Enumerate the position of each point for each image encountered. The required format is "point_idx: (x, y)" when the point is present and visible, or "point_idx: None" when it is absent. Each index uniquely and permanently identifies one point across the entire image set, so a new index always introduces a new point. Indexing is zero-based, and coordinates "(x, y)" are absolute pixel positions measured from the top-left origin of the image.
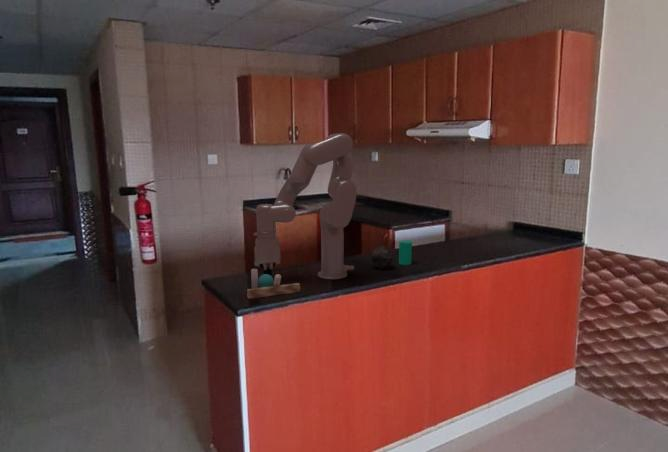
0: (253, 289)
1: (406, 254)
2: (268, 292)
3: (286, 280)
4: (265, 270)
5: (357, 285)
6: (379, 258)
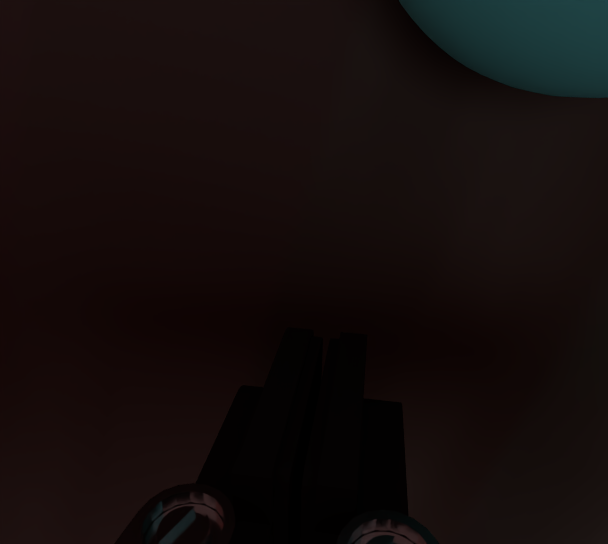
0: None
1: None
2: None
3: (32, 300)
4: (377, 526)
5: None
6: None
